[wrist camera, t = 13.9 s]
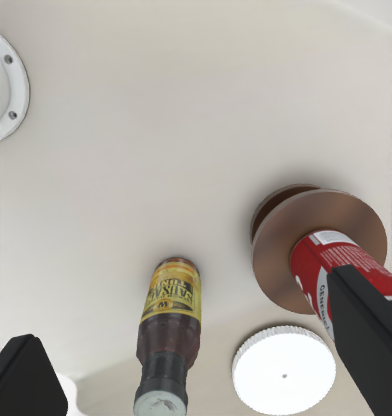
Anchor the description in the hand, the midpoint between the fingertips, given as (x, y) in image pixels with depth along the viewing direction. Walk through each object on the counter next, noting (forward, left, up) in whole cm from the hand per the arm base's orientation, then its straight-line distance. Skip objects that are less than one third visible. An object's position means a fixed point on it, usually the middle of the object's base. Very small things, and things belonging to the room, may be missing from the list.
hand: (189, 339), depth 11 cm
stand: (+16, +1, -30) cm, 34 cm away
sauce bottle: (+7, -13, -31) cm, 34 cm away
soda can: (+16, +1, -23) cm, 28 cm away
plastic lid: (+27, -16, -31) cm, 44 cm away
